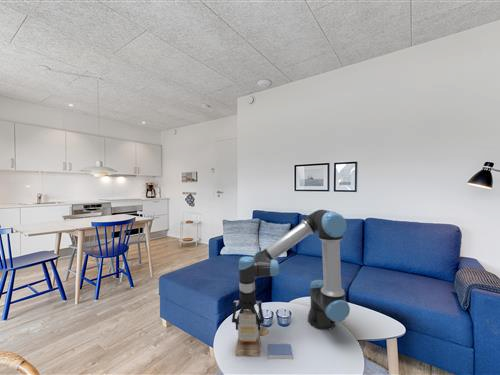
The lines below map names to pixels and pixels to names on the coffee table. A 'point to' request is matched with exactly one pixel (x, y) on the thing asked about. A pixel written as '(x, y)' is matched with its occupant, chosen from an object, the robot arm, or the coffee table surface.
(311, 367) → the coffee table surface
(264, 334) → the coaster
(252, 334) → the supplement box
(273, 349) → the paperback
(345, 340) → the coffee table surface
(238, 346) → the podium
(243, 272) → the robot arm
